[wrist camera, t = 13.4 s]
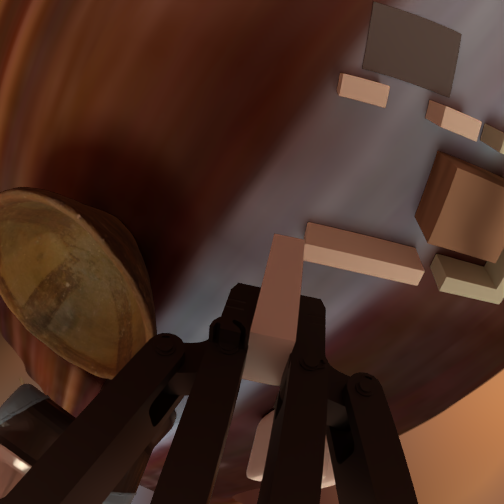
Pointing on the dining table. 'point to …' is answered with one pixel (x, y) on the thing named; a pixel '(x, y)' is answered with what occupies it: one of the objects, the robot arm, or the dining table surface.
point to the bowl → (74, 279)
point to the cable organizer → (261, 449)
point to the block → (463, 208)
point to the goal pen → (467, 274)
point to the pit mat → (411, 49)
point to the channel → (365, 247)
